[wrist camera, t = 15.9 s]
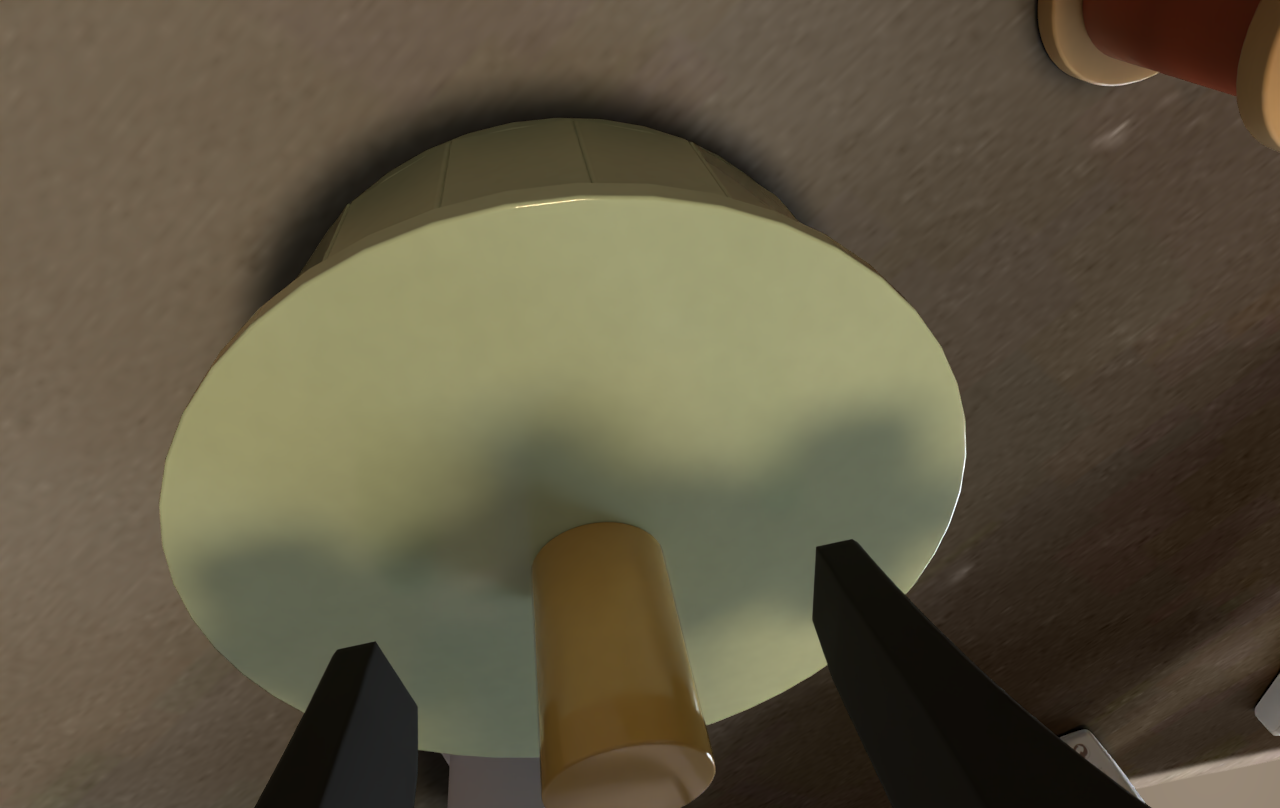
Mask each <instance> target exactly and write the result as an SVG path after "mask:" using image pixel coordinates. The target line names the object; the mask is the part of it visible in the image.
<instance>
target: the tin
mask: <svg viewBox="0 0 1280 808" xmlns="http://www.w3.org/2000/svg"><path fill="white" fill-rule="evenodd" d="M571 183H638V184H654V185H661V186H668V187H674V188H681V189H688V190H695V191H702V192H709V193H715V194H718V195H722V196H725V197H729V198H732V199H736V200H739V201H742V202H746V203H749V204H753V205H756V206H759V207H763V208H766V209H770V210H773V211H776V212H778V213H780V214H782V215H784V216H787V217H789V218H791V219H793V220H795V221H797V222H799V221H798V220H797V219H796V218H795V217H794V216H793V214H792V213H791V212H790V211H789V210H788V209H787V207H786V206H785V205H784V204H783V203H782V201H781V200H779V199H778V197H777V196H776V195H774V194H773V193H771V192H770V191H768V190H766V189H765V188H763V187H762V186H760V185H759V184H757V183H756V182H755V181H754V180H753V179H752V178H751V177H749V176H748V175H746V174H745V173H743V172H742V171H741V170H739V169H738V168H736V167H735V166H733V165H732V164H730V163H729V162H727V161H726V160H724V159H723V158H721V157H720V156H718V155H716V154H714V153H712V152H710V151H708V150H706V149H704V148H702V147H700V146H698V145H697V144H695V143H693V142H689V141H687V140H685V139H683V138H679V137H676V136H673V135H670V134H667V133H664V132H660V131H657V130H654V129H651V128H648V127H645V126H639V125H633V124H627V123H621V122H615V121H609V120H603V119H581V118H550V119H541V120H531V121H522V122H513V123H508V124H504V125H500V126H496V127H492V128H488V129H484V130H480V131H476V132H472V133H468V134H465V135H463V136H460V137H458V138H455V139H453V140H451V141H448V142H446V143H443V144H441V145H438V146H436V147H433V148H431V149H428V150H426V151H424V152H423V153H421V154H419V155H417V156H416V157H414V158H412V159H411V160H409V161H407V162H405V163H404V164H402V165H400V166H399V167H397V168H395V169H393V170H392V171H390V172H388V173H387V174H386V175H385V176H383V177H382V178H381V179H380V180H378V181H377V182H376V183H375V184H374V185H372V186H371V187H370V188H369V189H367V190H366V191H365V192H364V193H362V194H361V195H360V196H359V197H357V198H356V199H355V200H353V201H352V202H351V204H347V205H346V207H345V208H344V210H343V211H342V213H341V214H340V216H339V217H338V218H337V220H336V221H335V222H334V223H333V225H332V226H331V227H330V228H329V229H328V231H327V233H326V234H325V236H324V237H323V239H322V240H321V242H320V243H319V245H318V246H317V248H316V250H315V251H314V253H313V254H312V256H311V257H310V259H309V261H308V262H307V264H306V265H305V266H304V268H303V269H302V271H301V272H300V274H299V275H298V277H299V276H301V275H302V274H303V273H305V272H306V271H307V270H308V269H310V268H312V267H313V266H315V265H317V264H319V263H320V262H322V261H324V260H326V259H327V258H329V257H331V256H333V255H334V254H336V253H338V252H340V251H341V250H343V249H345V248H347V247H348V246H350V245H352V244H354V243H355V242H357V241H359V240H361V239H362V238H364V237H366V236H368V235H370V234H373V233H375V232H378V231H380V230H383V229H385V228H388V227H390V226H393V225H395V224H398V223H400V222H403V221H405V220H408V219H410V218H413V217H415V216H418V215H420V214H423V213H425V212H428V211H430V210H433V209H436V208H440V207H444V206H448V205H452V204H456V203H460V202H464V201H468V200H472V199H476V198H480V197H484V196H488V195H492V194H496V193H500V192H504V191H511V190H520V189H528V188H537V187H545V186H554V185H562V184H571ZM298 277H297V278H298ZM297 278H296V279H297Z"/></svg>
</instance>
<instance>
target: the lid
mask: <svg viewBox="0 0 1280 808" xmlns="http://www.w3.org/2000/svg"><path fill="white" fill-rule="evenodd" d="M965 461H966V423H965V415H964V411H963V406H962V402H961V397H960V393H959V388H958V384H957V380H956V378H955V376H954V374H953V371H952V369H951V367H950V365H949V362H948V360H947V358H946V356H945V353H944V351H943V349H942V347H941V345H940V343H939V342H938V340H937V339H936V338H935V336H934V335H933V333H932V332H931V331H930V329H929V328H928V326H927V325H926V323H925V322H924V321H923V319H922V318H921V316H920V315H919V314H918V312H917V311H916V309H915V308H914V307H913V306H912V305H911V304H910V303H909V302H908V301H907V300H906V299H905V298H904V297H903V296H902V295H901V294H900V293H899V292H898V291H897V290H896V289H895V288H894V287H893V286H892V285H891V284H890V283H889V282H888V281H887V280H886V279H885V278H884V277H882V276H881V275H880V274H879V273H878V272H877V271H876V270H875V269H874V268H873V267H872V266H871V265H870V264H869V263H867V262H866V261H864V260H863V259H861V258H860V257H858V256H857V255H855V254H854V253H852V252H851V251H849V250H848V249H847V248H845V247H844V246H842V245H841V244H839V243H838V242H836V241H835V240H833V239H832V238H830V237H829V236H827V235H825V234H823V233H821V232H819V231H817V230H815V229H813V228H810V227H808V226H806V225H804V224H802V223H800V222H797V221H795V220H793V219H791V218H789V217H787V216H784V215H782V214H780V213H778V212H776V211H773V210H770V209H766V208H763V207H759V206H756V205H753V204H749V203H746V202H742V201H739V200H736V199H732V198H729V197H725V196H722V195H718V194H715V193H709V192H702V191H695V190H688V189H681V188H674V187H668V186H661V185H654V184H638V183H571V184H562V185H554V186H545V187H537V188H528V189H520V190H511V191H504V192H500V193H496V194H492V195H488V196H484V197H480V198H476V199H472V200H468V201H464V202H460V203H456V204H452V205H448V206H444V207H440V208H436V209H433V210H430V211H428V212H425V213H423V214H420V215H418V216H415V217H413V218H410V219H408V220H405V221H403V222H400V223H398V224H395V225H393V226H390V227H388V228H385V229H383V230H380V231H378V232H375V233H373V234H370V235H368V236H366V237H364V238H362V239H361V240H359V241H357V242H355V243H354V244H352V245H350V246H348V247H347V248H345V249H343V250H341V251H340V252H338V253H336V254H334V255H333V256H331V257H329V258H327V259H326V260H324V261H322V262H320V263H319V264H317V265H315V266H313V267H312V268H310V269H308V270H307V271H306V272H305V273H303V274H302V275H301V276H299V277H298V278H297V279H296V280H294V281H293V282H292V283H291V284H289V285H288V286H287V287H286V288H284V289H283V290H282V291H280V292H279V293H278V294H277V295H275V296H274V297H273V298H272V299H270V300H269V301H268V302H267V303H265V304H264V305H263V306H261V307H260V308H259V309H258V310H257V311H256V312H255V314H254V315H253V316H252V317H251V318H250V319H249V320H248V321H247V322H246V323H245V325H244V326H243V327H242V328H241V329H240V330H239V331H238V332H237V333H236V334H235V335H234V337H233V338H232V339H231V340H230V341H229V342H228V343H227V344H226V345H225V346H224V348H223V349H222V350H221V351H220V353H219V354H218V356H217V357H216V359H215V361H214V362H213V364H212V365H211V367H210V369H209V370H208V372H207V373H206V375H205V377H204V378H203V380H202V381H201V383H200V384H199V386H198V388H197V389H196V391H195V392H194V394H193V396H192V397H191V399H190V401H189V403H188V404H187V406H186V408H185V410H184V411H183V413H182V416H181V418H180V421H179V424H178V426H177V429H176V432H175V434H174V437H173V440H172V442H171V445H170V448H169V450H168V453H167V456H166V458H165V465H164V471H163V478H162V485H161V492H160V498H159V511H160V524H161V538H162V547H163V550H164V554H165V557H166V561H167V564H168V567H169V571H170V574H171V578H172V581H173V584H174V586H175V588H176V590H177V592H178V594H179V596H180V597H181V599H182V601H183V603H184V605H185V607H186V609H187V611H188V613H189V615H190V616H191V618H192V620H193V621H194V622H195V623H196V625H197V626H198V627H199V628H200V630H201V631H202V632H203V634H204V635H205V636H206V637H207V639H208V640H209V641H210V643H211V644H212V645H213V646H214V648H215V649H216V650H217V651H218V652H219V653H221V654H222V655H223V656H224V657H225V658H226V659H227V660H228V661H229V662H230V663H231V664H232V665H233V666H234V667H235V668H236V669H238V670H239V671H240V672H241V673H242V674H243V675H244V676H246V677H247V678H249V679H250V680H251V681H253V682H254V683H256V684H257V685H258V686H260V687H261V688H263V689H264V690H265V691H267V692H268V693H270V694H271V695H272V696H274V697H276V698H278V699H279V700H281V701H283V702H285V703H287V704H289V705H290V706H292V707H294V708H296V709H298V710H299V711H301V712H303V713H305V711H306V709H307V707H308V705H309V703H310V701H311V699H312V696H313V694H314V692H315V690H316V688H317V686H318V684H319V682H320V680H321V678H322V676H323V674H324V672H325V670H326V668H327V666H328V664H329V662H330V660H331V658H332V656H333V654H334V653H335V652H336V650H337V649H342V648H346V647H351V646H356V645H360V644H365V643H370V642H374V641H376V643H377V644H378V646H379V647H380V649H381V650H382V652H383V653H384V655H385V657H386V658H387V660H388V661H389V663H390V664H391V666H392V667H393V669H394V670H395V672H396V673H397V675H398V677H399V678H400V680H401V681H402V683H403V684H404V686H405V687H406V689H407V690H408V692H409V694H410V695H411V697H412V698H413V700H414V701H415V703H416V704H417V706H418V750H423V751H430V752H437V753H444V754H451V755H461V756H476V757H490V758H537V757H539V761H540V782H541V800H542V803H543V805H544V807H545V808H681V807H683V806H684V805H686V804H688V803H690V802H691V801H693V800H694V799H696V798H697V797H698V796H699V795H701V794H702V793H703V792H704V791H705V790H706V789H707V788H708V786H709V785H710V784H711V782H712V780H713V778H714V775H715V770H716V764H715V760H714V756H713V752H712V748H711V744H710V740H709V736H708V732H707V727H706V725H709V724H712V723H715V722H717V721H720V720H722V719H725V718H727V717H730V716H732V715H735V714H737V713H740V712H742V711H745V710H747V709H749V708H752V707H754V706H756V705H758V704H760V703H762V702H764V701H766V700H768V699H770V698H772V697H774V696H776V695H778V694H781V693H782V692H784V691H786V690H788V689H789V688H791V687H793V686H794V685H796V684H798V683H800V682H801V681H803V680H805V679H807V678H808V677H810V676H812V675H813V674H815V673H816V672H818V671H819V670H821V669H822V668H824V667H825V666H827V662H826V659H825V656H824V653H823V650H822V647H821V644H820V642H819V639H818V636H817V633H816V630H815V627H814V624H813V621H812V612H813V594H814V575H815V557H816V547H817V546H822V545H826V544H831V543H836V542H840V541H845V540H850V539H853V540H855V541H857V542H858V543H859V544H860V545H861V546H862V548H863V549H864V550H865V551H866V552H867V553H868V555H869V556H870V557H871V558H872V559H873V560H874V561H875V563H876V564H877V565H878V566H879V567H880V568H881V569H882V570H883V571H884V573H885V574H886V575H887V576H888V577H889V578H890V579H891V580H892V581H893V582H894V584H895V585H896V586H897V587H898V588H899V589H900V590H901V591H902V592H903V593H904V594H905V595H906V594H907V593H908V591H909V590H910V589H911V588H912V587H913V585H914V584H915V583H916V582H917V580H918V579H919V577H920V576H921V574H922V573H923V571H924V570H925V568H926V567H927V565H928V564H929V562H930V561H931V559H932V558H933V556H934V555H935V553H936V551H937V549H938V547H939V545H940V543H941V541H942V539H943V537H944V535H945V533H946V531H947V529H948V527H949V525H950V522H951V519H952V516H953V513H954V510H955V507H956V504H957V501H958V498H959V495H960V492H961V487H962V481H963V474H964V468H965Z"/></svg>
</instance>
